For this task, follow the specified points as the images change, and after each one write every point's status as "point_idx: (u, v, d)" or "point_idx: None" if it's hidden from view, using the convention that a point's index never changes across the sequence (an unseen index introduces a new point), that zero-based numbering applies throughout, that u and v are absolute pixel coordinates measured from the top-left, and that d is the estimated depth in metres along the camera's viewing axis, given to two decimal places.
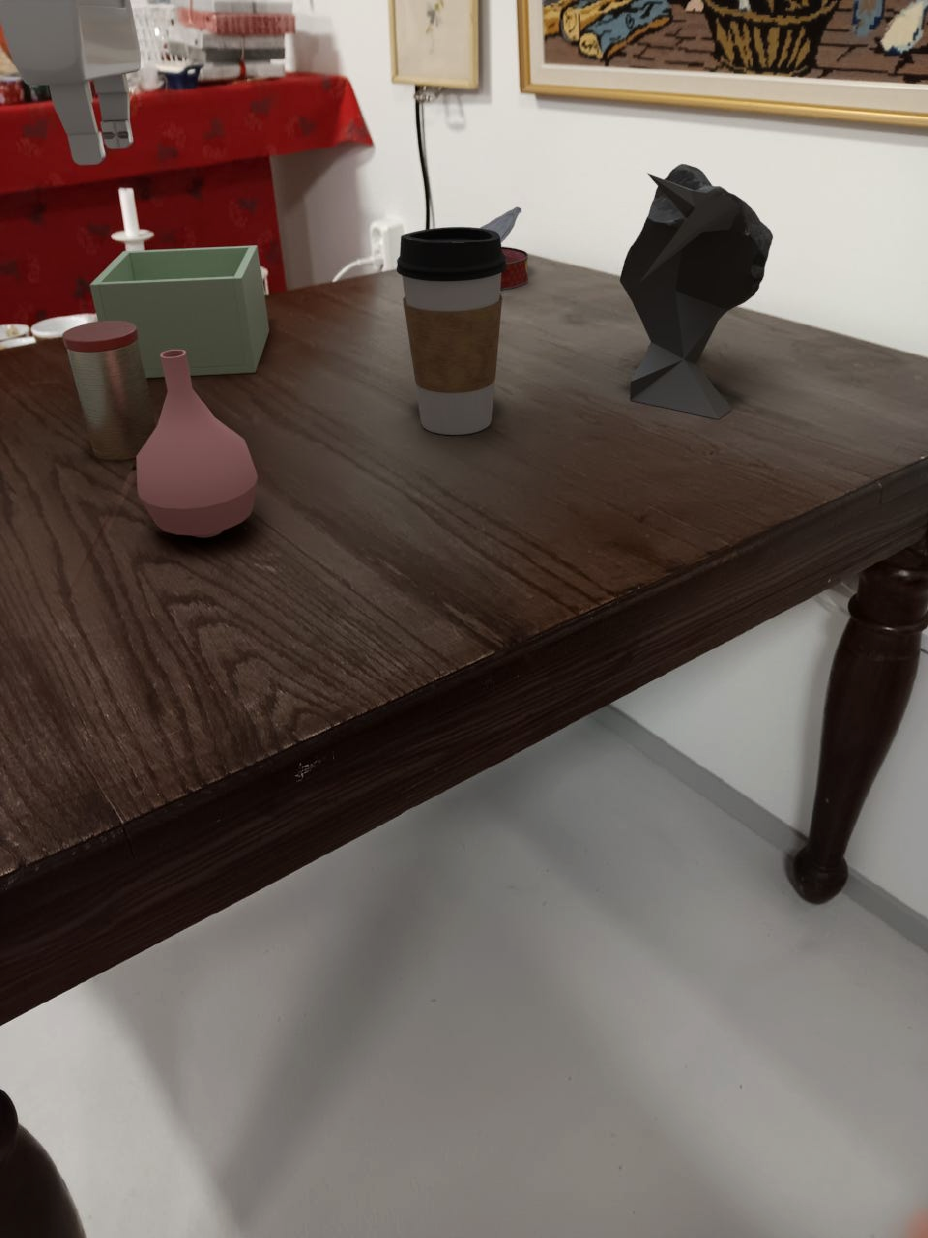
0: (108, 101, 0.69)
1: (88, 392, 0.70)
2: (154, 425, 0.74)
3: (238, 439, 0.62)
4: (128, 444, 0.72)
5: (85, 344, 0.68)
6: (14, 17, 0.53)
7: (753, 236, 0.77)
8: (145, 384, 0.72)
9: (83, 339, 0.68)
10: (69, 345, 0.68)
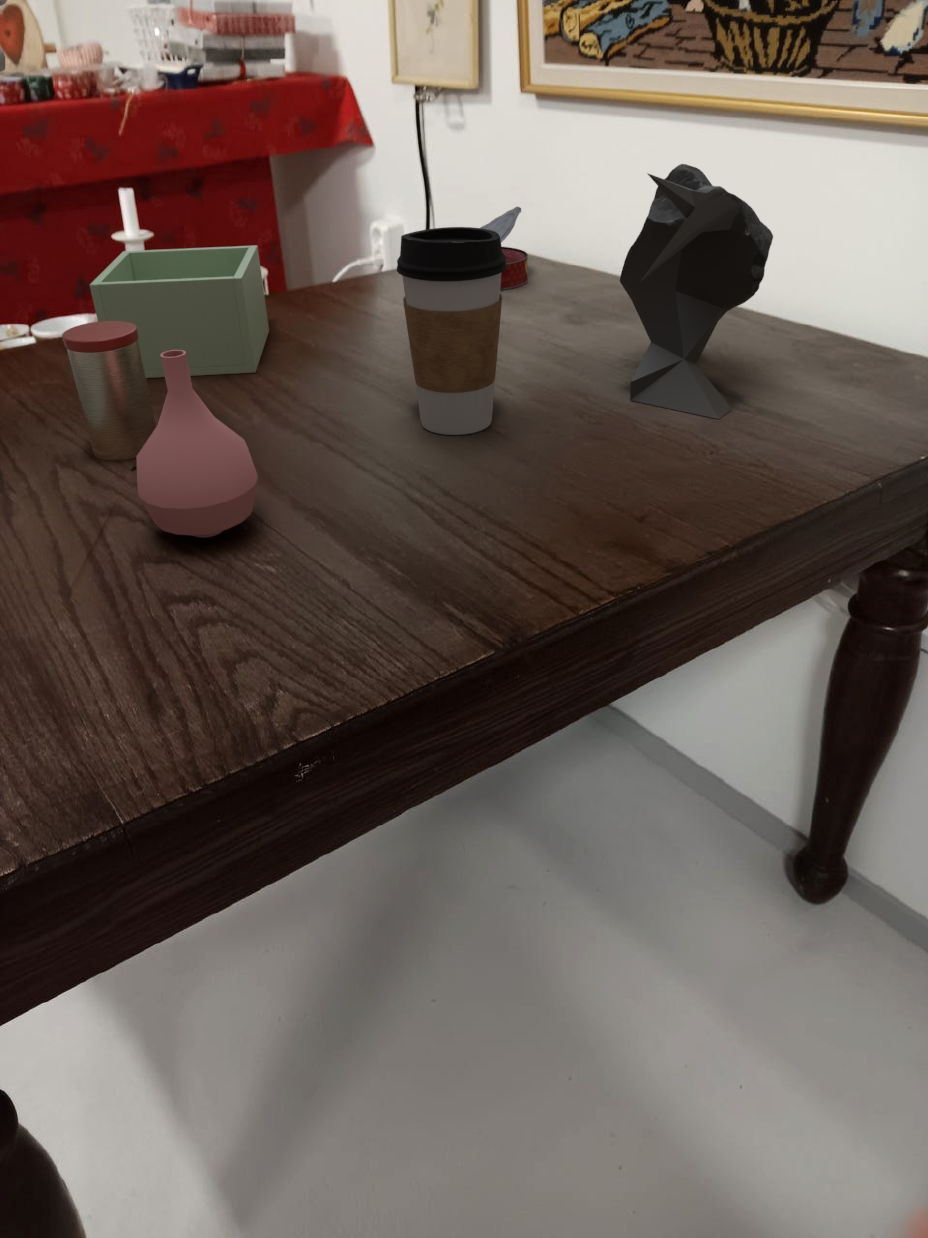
0: None
1: (88, 392, 0.70)
2: (154, 425, 0.74)
3: (238, 439, 0.62)
4: (128, 444, 0.72)
5: (85, 344, 0.68)
6: None
7: (753, 236, 0.77)
8: (145, 384, 0.72)
9: (83, 339, 0.68)
10: (69, 345, 0.68)
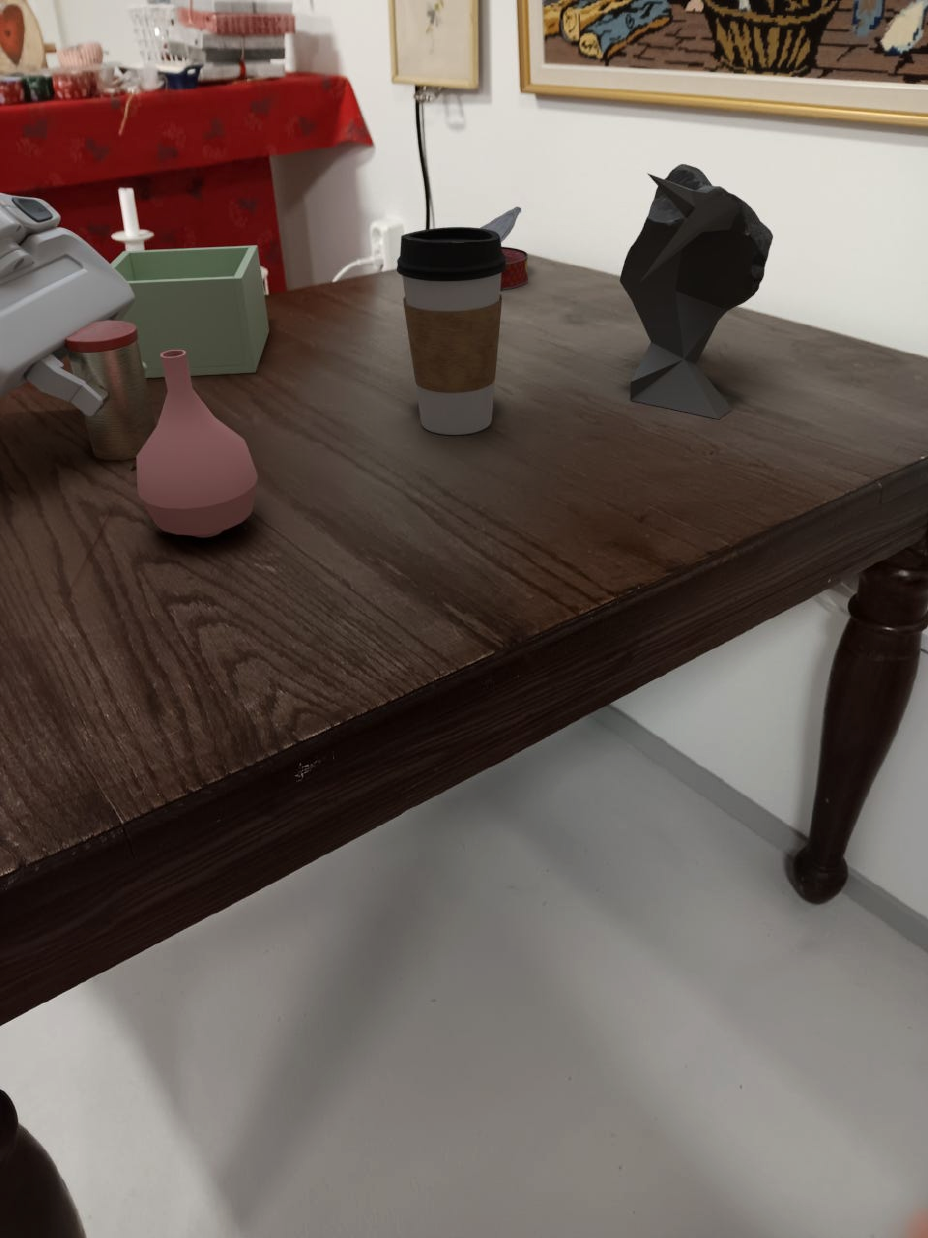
0: None
1: None
2: (154, 425, 0.74)
3: (238, 439, 0.62)
4: (128, 444, 0.72)
5: (85, 344, 0.68)
6: None
7: (753, 236, 0.77)
8: (145, 384, 0.72)
9: (83, 340, 0.68)
10: (69, 345, 0.68)
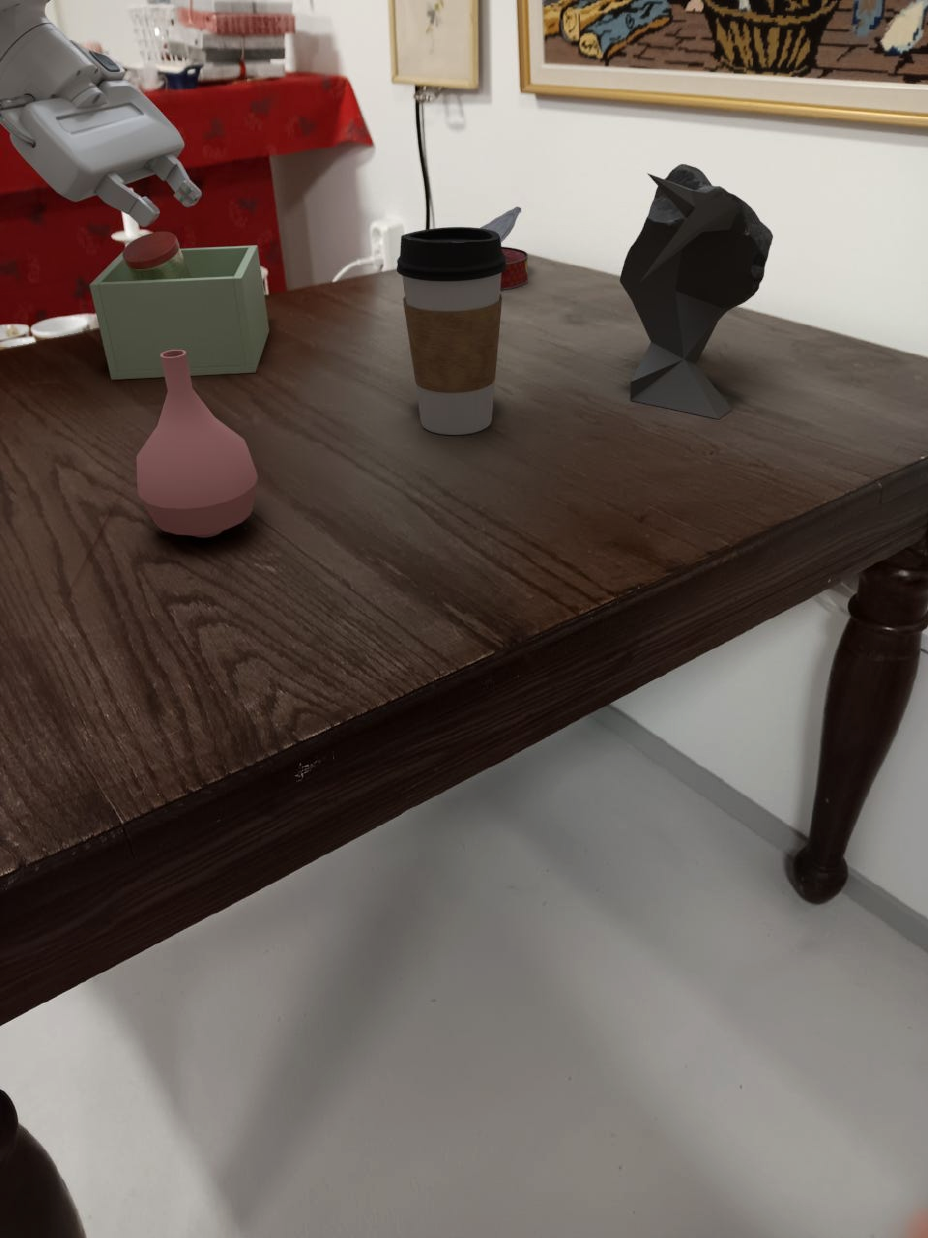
0: None
1: None
2: None
3: (238, 439, 0.62)
4: None
5: (143, 263, 0.87)
6: None
7: (753, 236, 0.77)
8: None
9: (140, 259, 0.87)
10: (130, 265, 0.87)
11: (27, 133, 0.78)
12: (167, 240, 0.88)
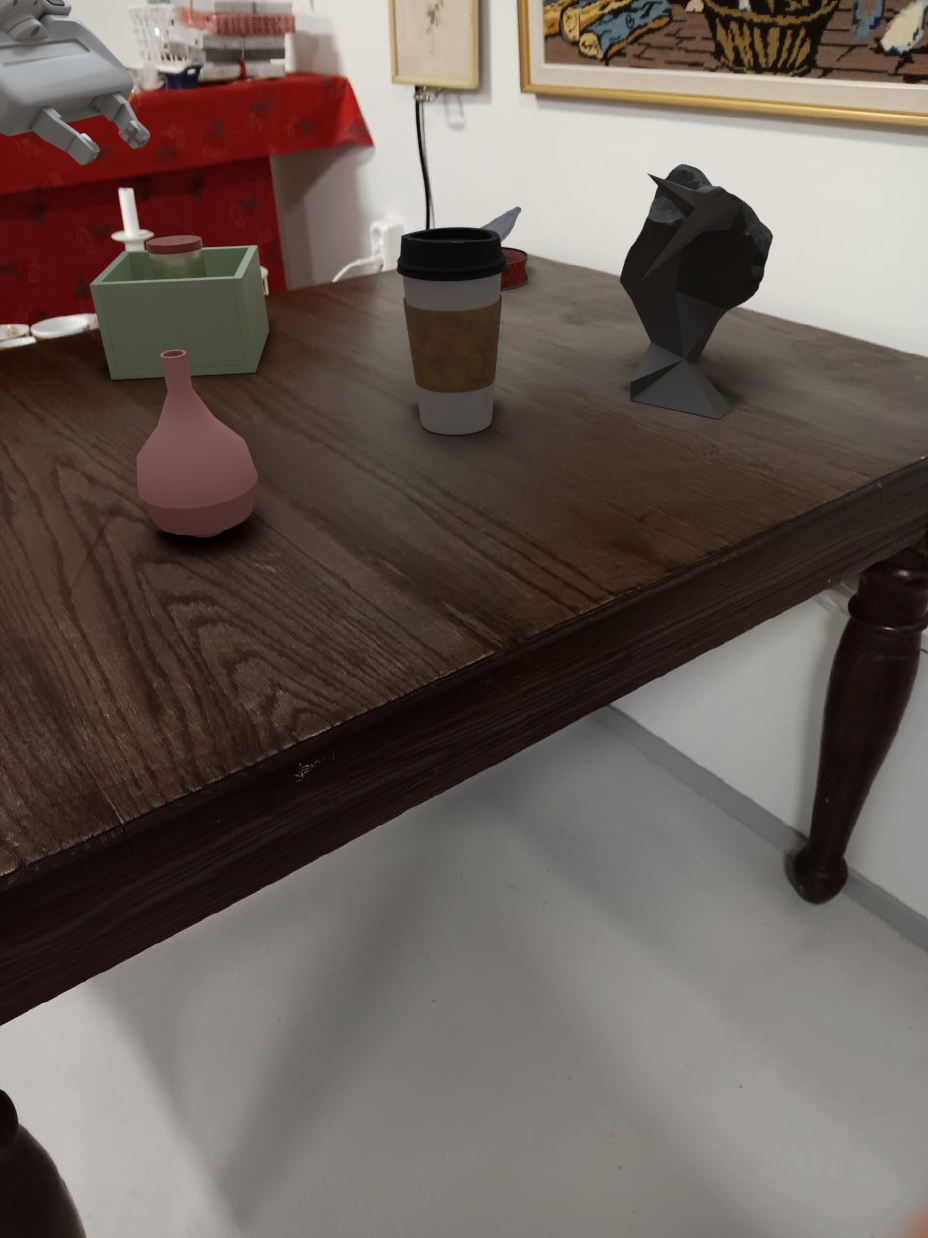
0: None
1: None
2: None
3: (238, 439, 0.62)
4: None
5: (165, 247, 0.89)
6: None
7: (753, 236, 0.77)
8: None
9: (163, 244, 0.89)
10: (152, 249, 0.90)
11: None
12: (192, 238, 0.92)
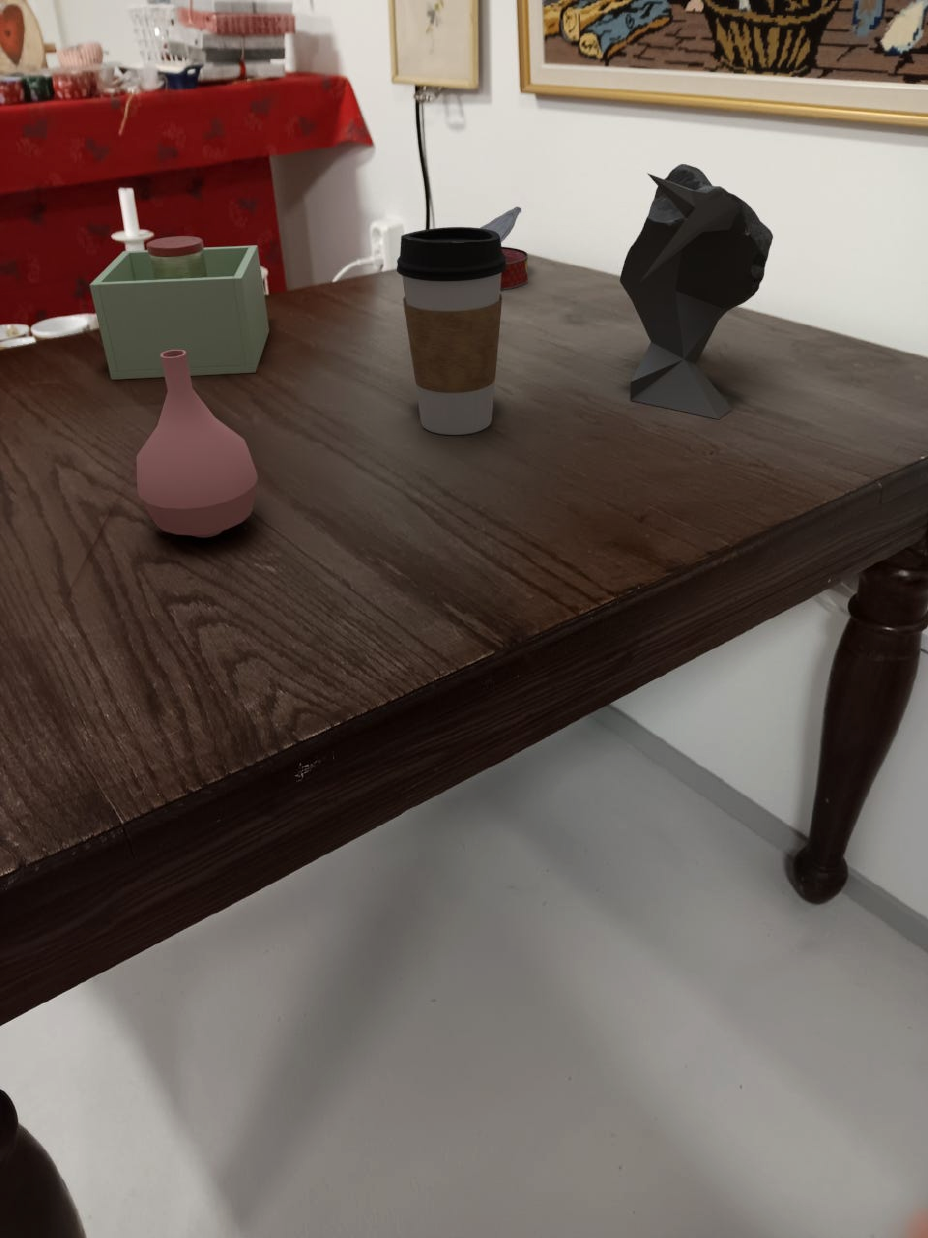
0: None
1: None
2: None
3: (238, 439, 0.62)
4: None
5: (166, 250, 0.89)
6: None
7: (753, 236, 0.77)
8: None
9: (164, 246, 0.89)
10: (153, 251, 0.89)
11: None
12: (193, 240, 0.91)
